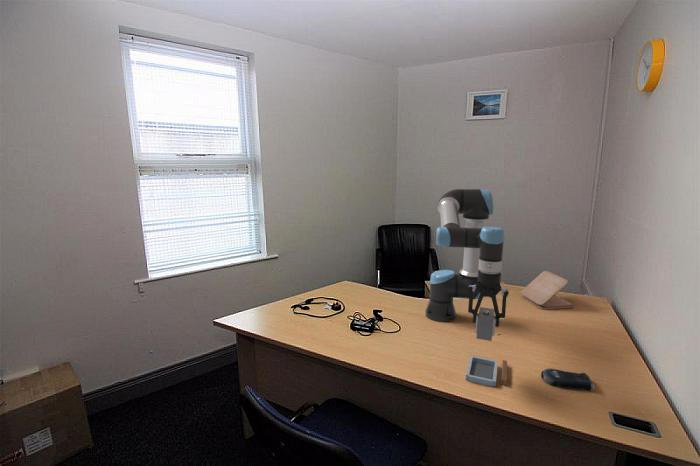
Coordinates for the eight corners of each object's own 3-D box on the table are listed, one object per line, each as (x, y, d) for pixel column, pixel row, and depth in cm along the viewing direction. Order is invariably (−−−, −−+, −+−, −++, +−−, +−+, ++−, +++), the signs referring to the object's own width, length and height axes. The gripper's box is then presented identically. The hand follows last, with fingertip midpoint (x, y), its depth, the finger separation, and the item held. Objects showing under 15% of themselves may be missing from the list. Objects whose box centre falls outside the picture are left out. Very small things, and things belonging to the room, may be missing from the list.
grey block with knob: (478, 327, 137) (480, 305, 135) (493, 329, 135) (494, 307, 133) (476, 338, 128) (477, 315, 126) (491, 341, 126) (493, 317, 124)
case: (518, 296, 212) (520, 270, 209) (551, 295, 214) (554, 269, 211) (540, 311, 192) (543, 282, 189) (576, 309, 194) (580, 280, 191)
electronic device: (581, 380, 132) (537, 370, 135) (586, 368, 130) (542, 358, 133) (590, 399, 123) (543, 387, 127) (596, 386, 122) (548, 375, 125)
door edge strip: (501, 384, 127) (501, 379, 126) (502, 364, 139) (502, 360, 139) (505, 385, 126) (506, 380, 126) (506, 365, 139) (507, 360, 138)
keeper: (465, 380, 129) (465, 375, 129) (470, 360, 143) (470, 355, 142) (495, 387, 125) (495, 382, 125) (497, 365, 139) (497, 361, 138)
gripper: (461, 270, 127) (457, 332, 131) (517, 277, 120) (512, 342, 124) (464, 265, 134) (460, 324, 138) (517, 271, 126) (512, 333, 131)
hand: (485, 332), depth 131 cm, fingers closed on grey block with knob, 5 cm apart
